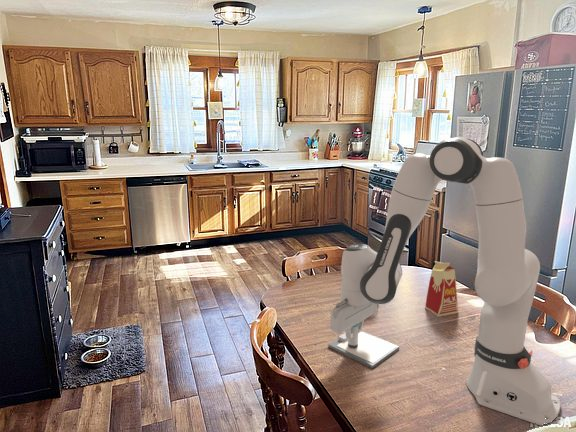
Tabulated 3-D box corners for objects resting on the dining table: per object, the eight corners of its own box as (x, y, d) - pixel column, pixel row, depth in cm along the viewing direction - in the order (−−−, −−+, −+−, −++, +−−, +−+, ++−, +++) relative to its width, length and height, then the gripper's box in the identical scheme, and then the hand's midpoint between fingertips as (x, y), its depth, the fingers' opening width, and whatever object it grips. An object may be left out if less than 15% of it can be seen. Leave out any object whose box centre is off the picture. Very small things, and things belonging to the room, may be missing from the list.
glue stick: (360, 345, 139) (360, 321, 137) (353, 349, 137) (354, 325, 134) (351, 341, 141) (352, 318, 139) (345, 345, 139) (346, 321, 137)
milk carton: (458, 312, 163) (463, 263, 158) (438, 317, 160) (443, 266, 155) (441, 303, 171) (445, 255, 167) (422, 307, 168) (426, 258, 163)
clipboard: (399, 349, 139) (399, 343, 138) (372, 368, 129) (372, 362, 128) (356, 330, 151) (356, 324, 150) (328, 347, 140) (328, 341, 140)
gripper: (342, 308, 125) (341, 351, 128) (381, 288, 139) (379, 327, 142) (325, 302, 129) (324, 343, 133) (365, 282, 143) (363, 320, 147)
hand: (353, 334), depth 138 cm, fingers closed on glue stick, 3 cm apart
